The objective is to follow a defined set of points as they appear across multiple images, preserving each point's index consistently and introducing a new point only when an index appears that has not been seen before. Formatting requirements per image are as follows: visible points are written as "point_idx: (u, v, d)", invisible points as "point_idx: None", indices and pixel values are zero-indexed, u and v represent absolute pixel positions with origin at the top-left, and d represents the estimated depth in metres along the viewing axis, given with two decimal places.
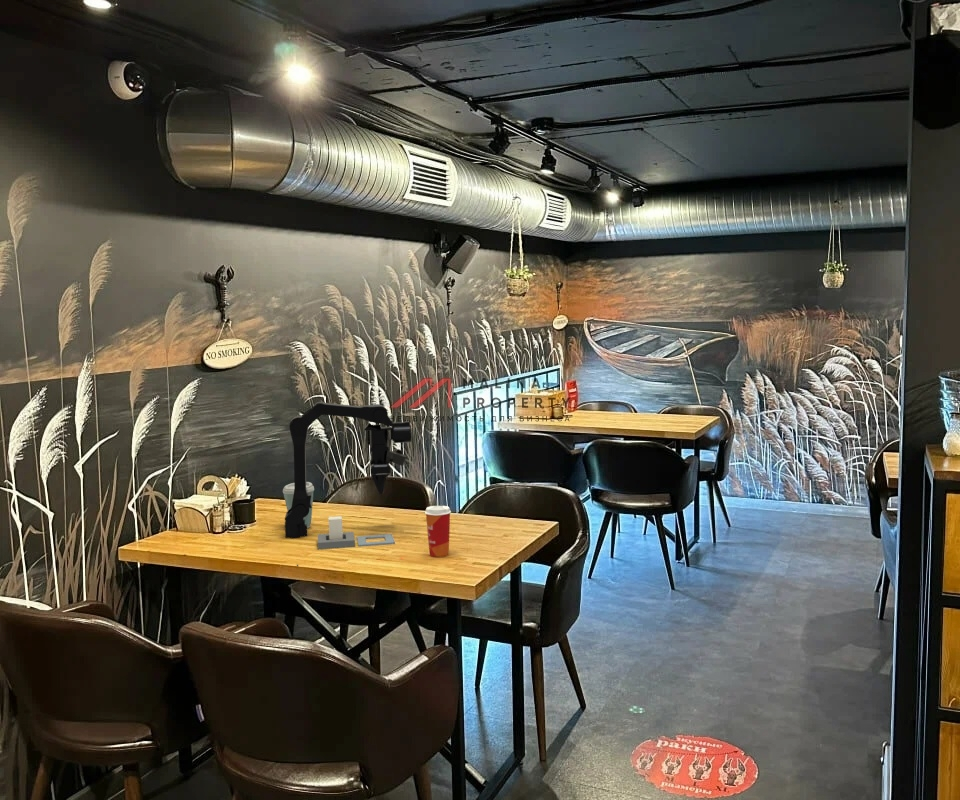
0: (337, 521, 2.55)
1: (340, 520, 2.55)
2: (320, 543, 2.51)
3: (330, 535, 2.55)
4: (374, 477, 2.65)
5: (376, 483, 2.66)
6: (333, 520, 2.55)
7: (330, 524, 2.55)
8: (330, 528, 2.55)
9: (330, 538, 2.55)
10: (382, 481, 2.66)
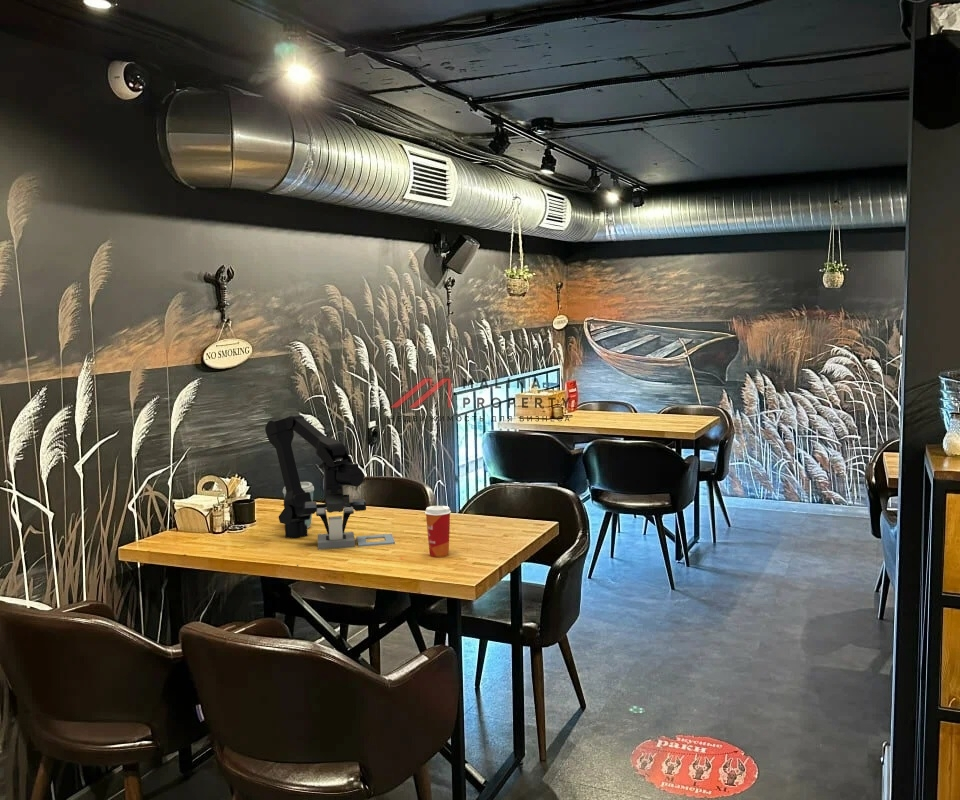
0: (337, 521, 2.55)
1: (340, 520, 2.55)
2: (320, 543, 2.51)
3: (330, 535, 2.55)
4: None
5: None
6: (333, 520, 2.55)
7: (330, 524, 2.55)
8: (330, 528, 2.55)
9: (330, 538, 2.55)
10: None
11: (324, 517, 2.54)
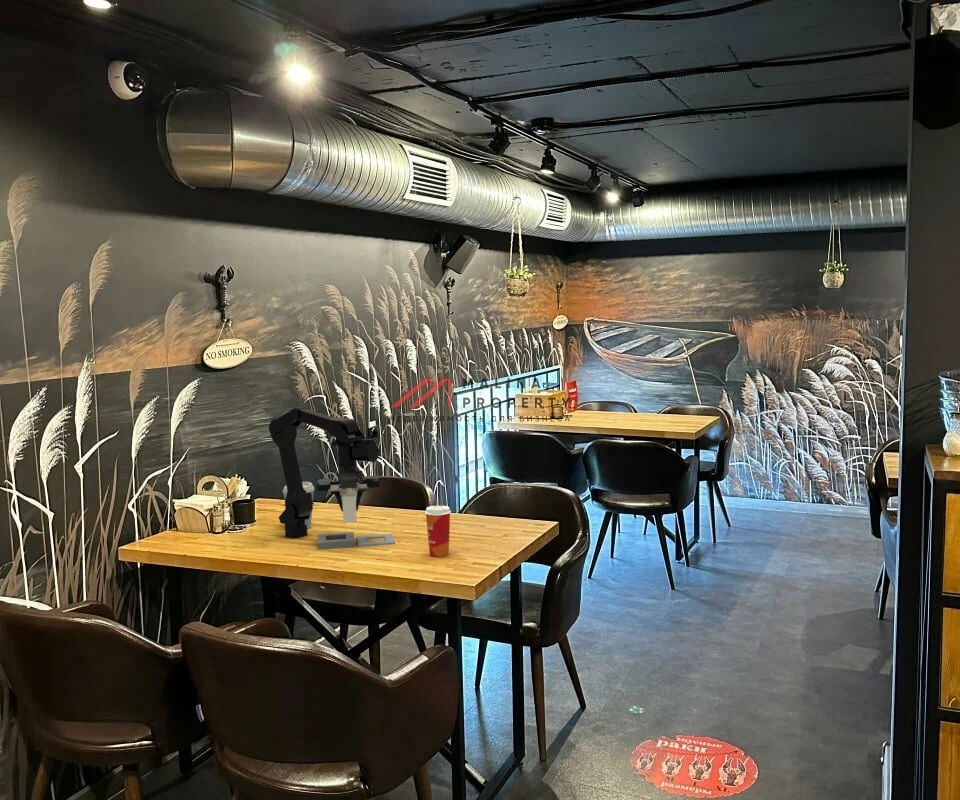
0: (351, 498, 2.55)
1: (353, 497, 2.55)
2: (320, 543, 2.51)
3: (344, 512, 2.55)
4: None
5: None
6: (347, 497, 2.55)
7: (344, 501, 2.55)
8: (344, 505, 2.55)
9: (344, 515, 2.55)
10: None
11: (338, 494, 2.54)
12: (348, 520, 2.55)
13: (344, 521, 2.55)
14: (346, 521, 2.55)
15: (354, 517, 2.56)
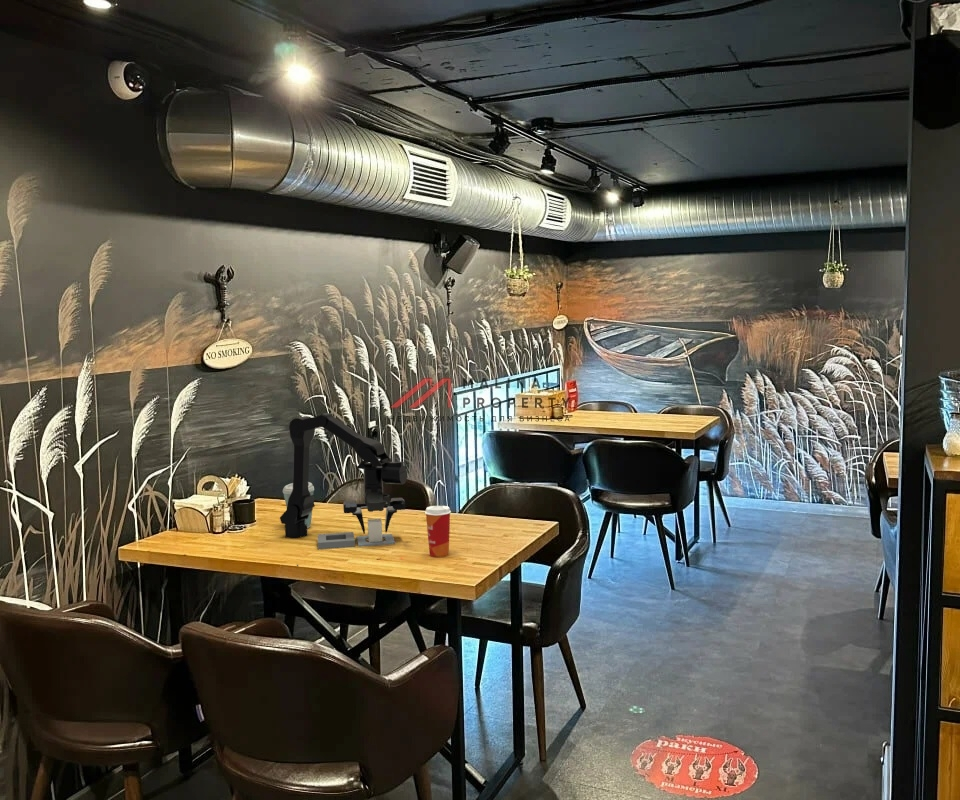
0: (377, 523, 2.57)
1: (380, 522, 2.58)
2: (320, 543, 2.51)
3: (370, 537, 2.57)
4: None
5: None
6: (373, 522, 2.57)
7: (370, 526, 2.57)
8: (370, 530, 2.57)
9: (370, 540, 2.57)
10: None
11: (360, 516, 2.56)
12: None
13: None
14: None
15: None
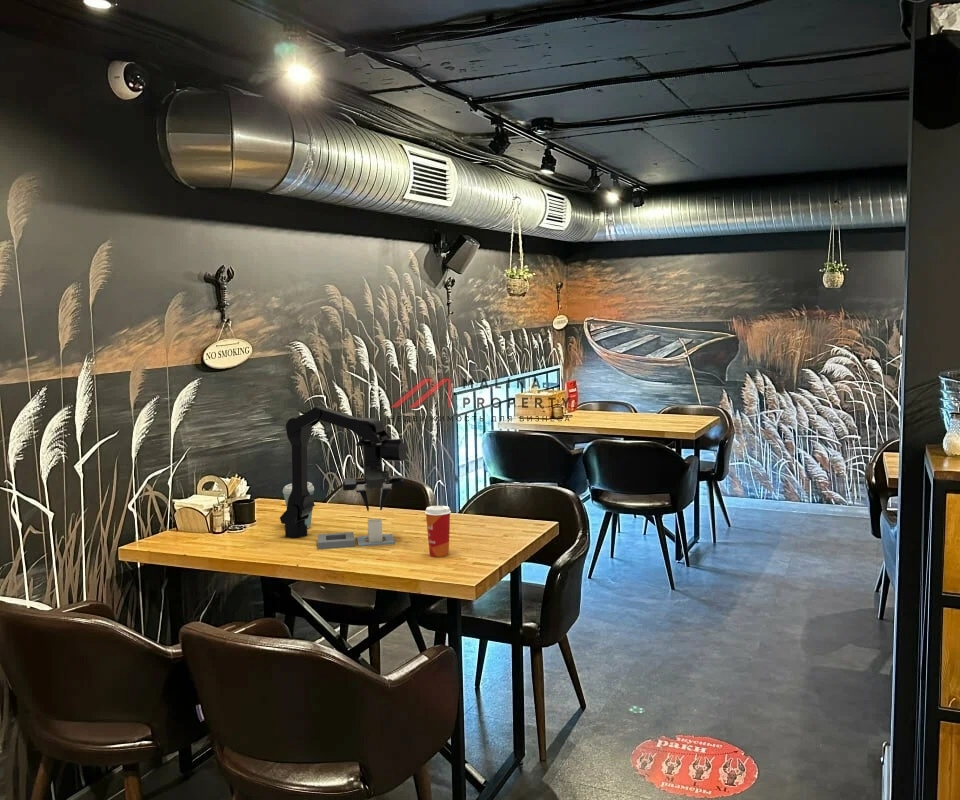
0: (377, 523, 2.57)
1: (380, 522, 2.58)
2: (320, 543, 2.51)
3: (370, 537, 2.57)
4: None
5: None
6: (373, 522, 2.57)
7: (370, 526, 2.57)
8: (370, 530, 2.57)
9: (370, 540, 2.57)
10: None
11: (364, 493, 2.56)
12: None
13: None
14: None
15: None
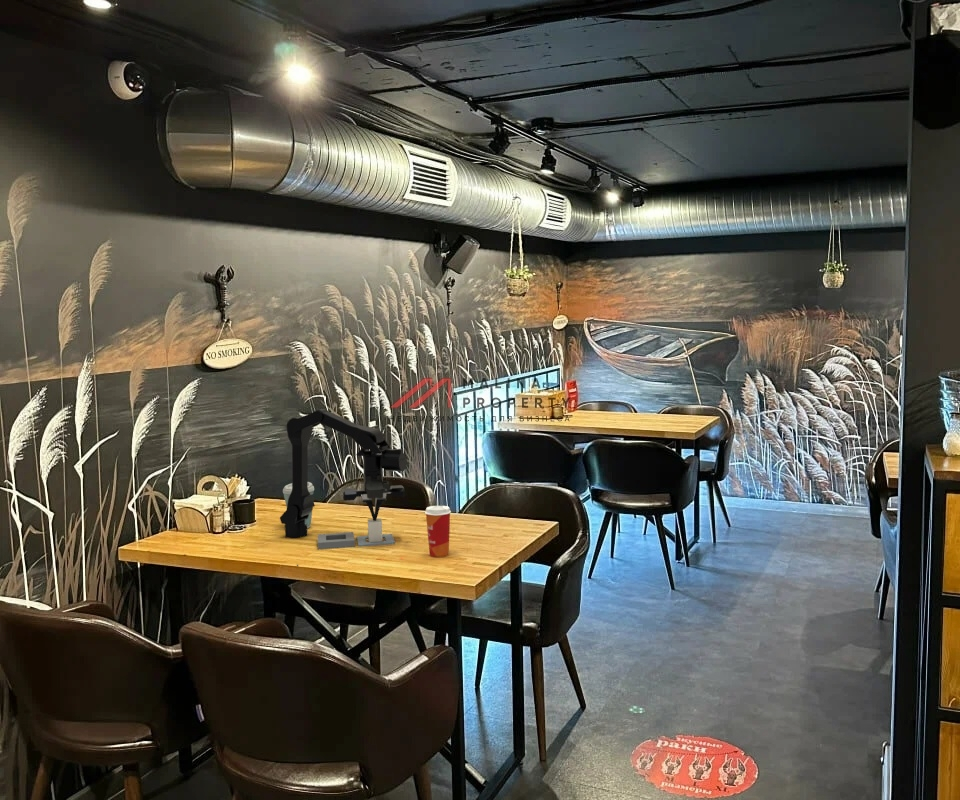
0: (377, 523, 2.57)
1: (380, 522, 2.58)
2: (320, 543, 2.51)
3: (370, 537, 2.57)
4: None
5: None
6: (373, 522, 2.57)
7: (370, 526, 2.57)
8: (370, 530, 2.57)
9: (370, 540, 2.57)
10: None
11: (370, 503, 2.57)
12: None
13: None
14: None
15: None
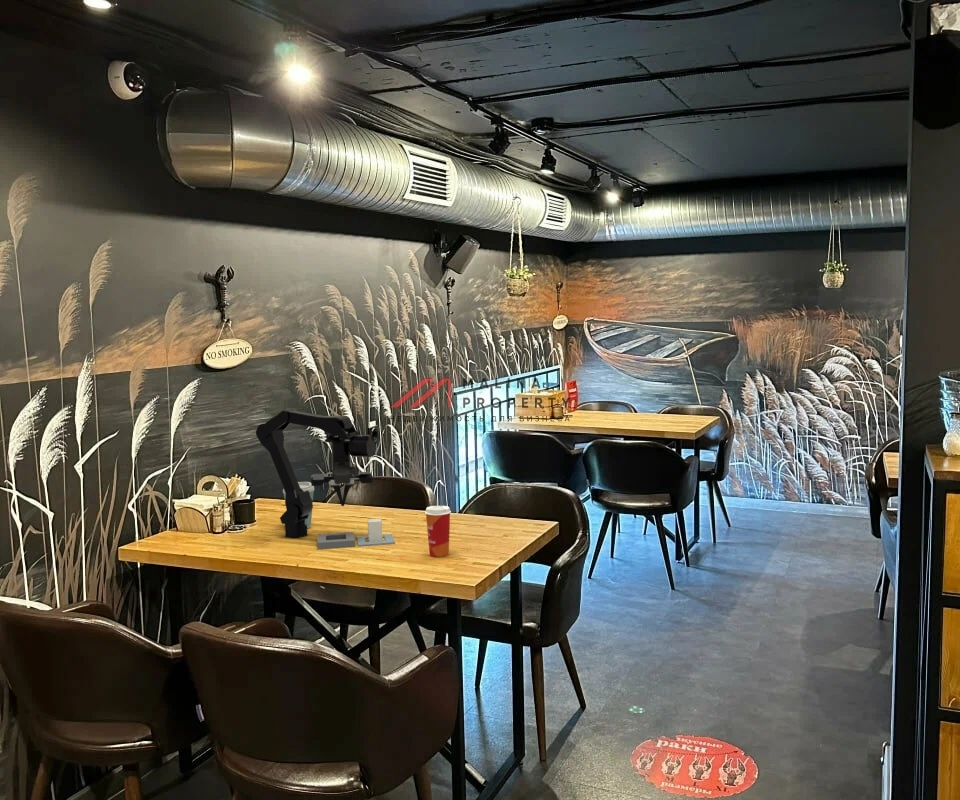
0: (377, 523, 2.57)
1: (380, 522, 2.58)
2: (320, 543, 2.51)
3: (370, 537, 2.57)
4: None
5: None
6: (373, 522, 2.57)
7: (370, 526, 2.57)
8: (370, 530, 2.57)
9: (370, 540, 2.57)
10: None
11: (338, 488, 2.60)
12: None
13: None
14: None
15: None
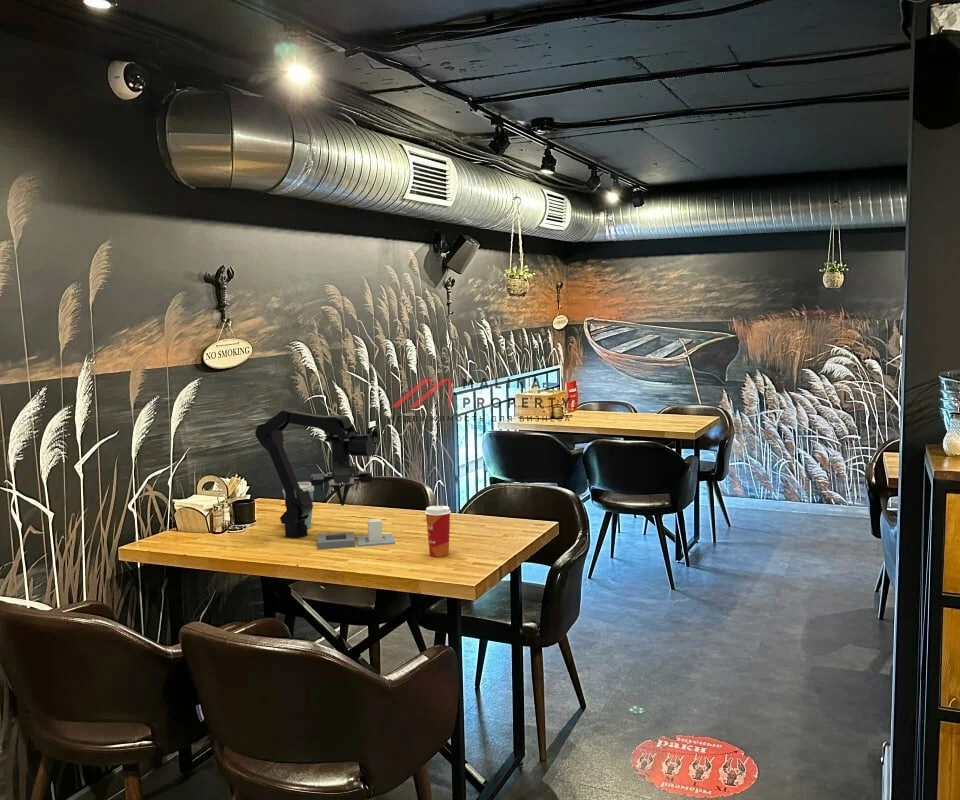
0: (377, 523, 2.57)
1: (380, 522, 2.58)
2: (320, 543, 2.51)
3: (370, 537, 2.57)
4: None
5: None
6: (373, 522, 2.57)
7: (370, 526, 2.57)
8: (370, 530, 2.57)
9: (370, 540, 2.57)
10: None
11: (338, 488, 2.60)
12: None
13: None
14: None
15: None
